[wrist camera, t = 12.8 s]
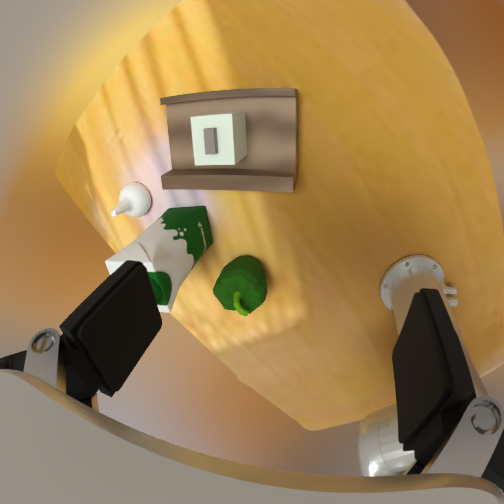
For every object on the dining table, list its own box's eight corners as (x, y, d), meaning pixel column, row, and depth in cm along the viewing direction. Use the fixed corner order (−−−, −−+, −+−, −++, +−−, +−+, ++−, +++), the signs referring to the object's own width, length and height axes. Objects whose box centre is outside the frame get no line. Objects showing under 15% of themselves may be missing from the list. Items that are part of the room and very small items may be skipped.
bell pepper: (217, 257, 50) (196, 291, 42) (257, 242, 47) (242, 277, 39) (239, 292, 54) (224, 330, 45) (278, 281, 50) (268, 320, 42)
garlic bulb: (160, 200, 48) (138, 216, 41) (139, 219, 50) (117, 237, 43) (139, 173, 46) (114, 185, 39) (119, 194, 48) (94, 209, 41)
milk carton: (218, 247, 49) (168, 328, 33) (173, 247, 52) (114, 319, 35) (209, 199, 45) (144, 268, 28) (162, 203, 47) (89, 265, 31)
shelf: (297, 177, 40) (292, 193, 34) (183, 175, 44) (162, 189, 38) (297, 89, 33) (293, 87, 27) (176, 96, 37) (152, 98, 31)
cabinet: (245, 111, 33) (229, 114, 27) (247, 154, 36) (232, 166, 30) (209, 113, 34) (186, 117, 28) (212, 155, 37) (191, 167, 32)
